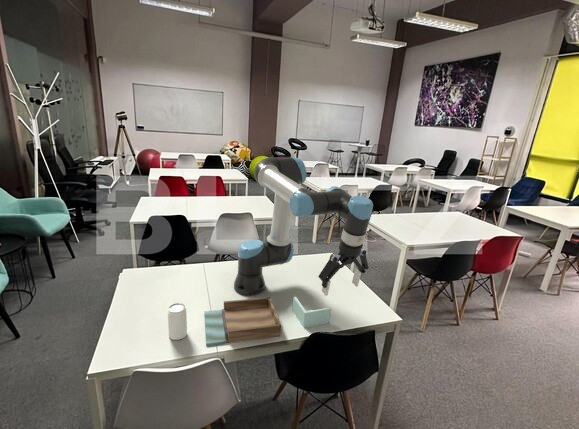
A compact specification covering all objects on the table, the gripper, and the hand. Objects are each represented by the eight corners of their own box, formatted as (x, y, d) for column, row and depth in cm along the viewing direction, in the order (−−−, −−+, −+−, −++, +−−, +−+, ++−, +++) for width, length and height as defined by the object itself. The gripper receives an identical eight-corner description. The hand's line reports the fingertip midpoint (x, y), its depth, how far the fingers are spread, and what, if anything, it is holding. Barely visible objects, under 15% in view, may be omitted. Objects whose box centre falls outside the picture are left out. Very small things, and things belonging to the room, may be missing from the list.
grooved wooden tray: (204, 313, 134) (204, 303, 133) (269, 306, 142) (270, 297, 141) (206, 345, 116) (206, 334, 115) (280, 336, 124) (281, 325, 123)
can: (172, 328, 124) (171, 301, 120) (189, 330, 124) (188, 303, 120) (166, 340, 118) (164, 312, 114) (183, 341, 117) (182, 313, 114)
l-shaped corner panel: (329, 323, 135) (331, 308, 133) (303, 328, 131) (304, 313, 128) (316, 307, 145) (318, 293, 143) (292, 311, 141) (293, 297, 139)
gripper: (327, 254, 99) (316, 304, 109) (387, 240, 110) (372, 287, 120) (314, 241, 104) (305, 290, 115) (373, 229, 115) (360, 274, 126)
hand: (340, 288), depth 117 cm, fingers open, 13 cm apart
